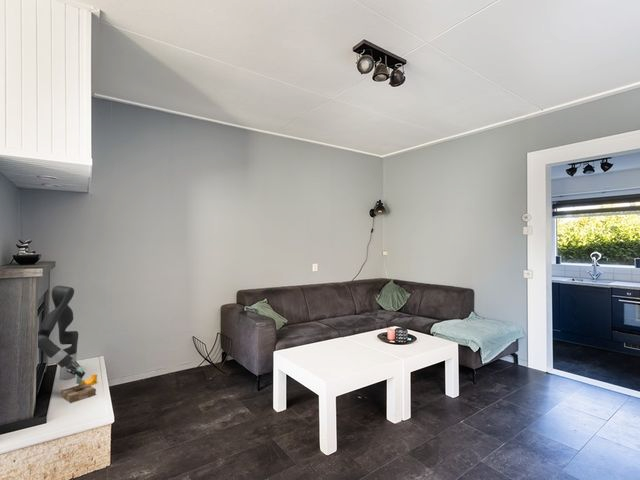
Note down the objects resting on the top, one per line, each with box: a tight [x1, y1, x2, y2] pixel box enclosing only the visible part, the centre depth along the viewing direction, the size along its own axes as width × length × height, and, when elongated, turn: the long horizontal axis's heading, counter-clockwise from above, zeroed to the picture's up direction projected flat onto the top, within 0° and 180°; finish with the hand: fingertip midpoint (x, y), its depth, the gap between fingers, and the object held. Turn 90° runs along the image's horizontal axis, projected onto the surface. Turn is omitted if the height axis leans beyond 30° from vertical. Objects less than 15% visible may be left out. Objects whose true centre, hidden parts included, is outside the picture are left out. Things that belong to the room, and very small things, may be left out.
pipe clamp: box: [78, 373, 98, 387], centre depth 232 cm, size 12×4×6 cm, turn 169°
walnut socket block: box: [60, 383, 97, 404], centre depth 218 cm, size 14×14×4 cm
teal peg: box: [75, 366, 84, 385], centre depth 218 cm, size 3×3×10 cm
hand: (83, 375), depth 218 cm, fingers closed on teal peg, 3 cm apart
